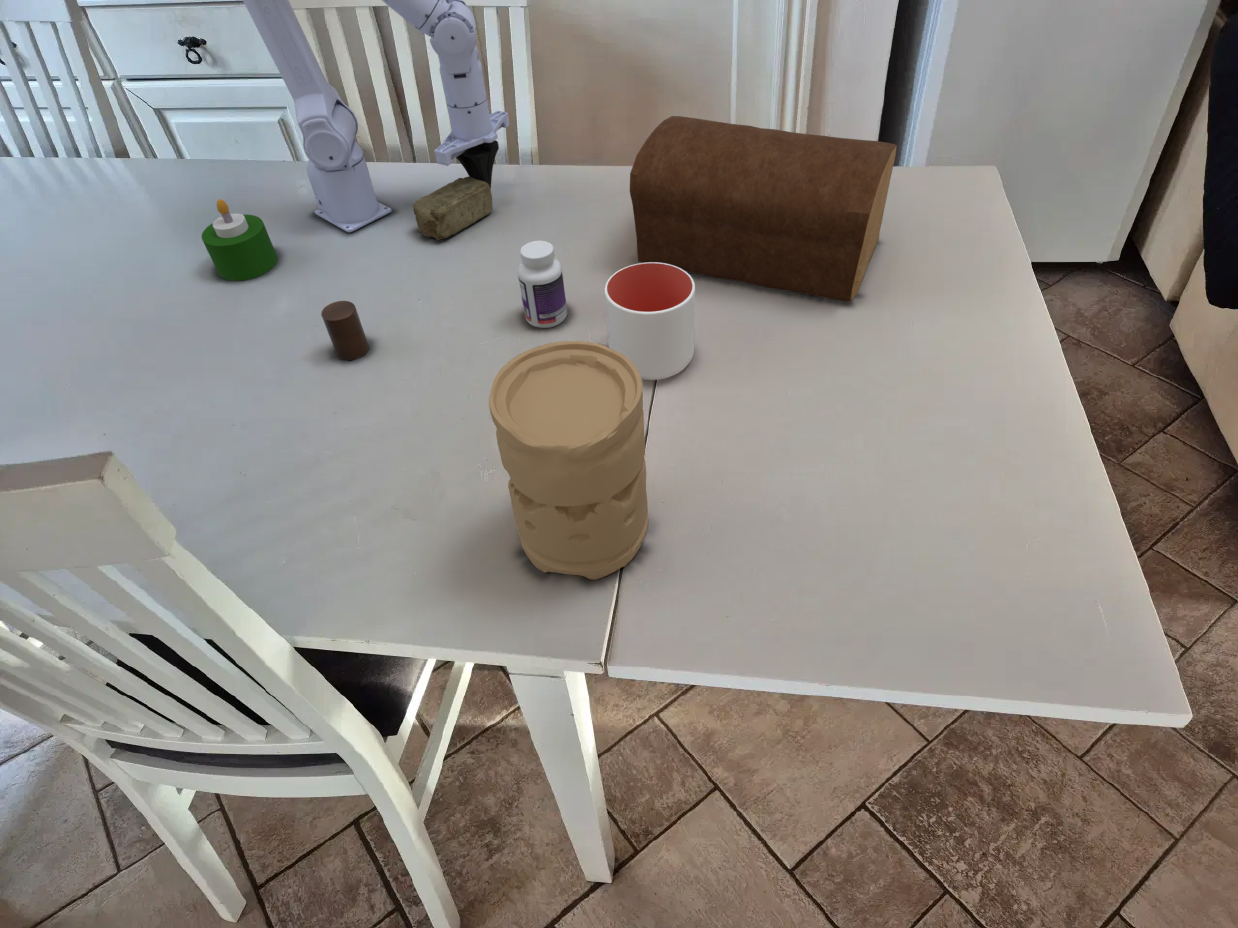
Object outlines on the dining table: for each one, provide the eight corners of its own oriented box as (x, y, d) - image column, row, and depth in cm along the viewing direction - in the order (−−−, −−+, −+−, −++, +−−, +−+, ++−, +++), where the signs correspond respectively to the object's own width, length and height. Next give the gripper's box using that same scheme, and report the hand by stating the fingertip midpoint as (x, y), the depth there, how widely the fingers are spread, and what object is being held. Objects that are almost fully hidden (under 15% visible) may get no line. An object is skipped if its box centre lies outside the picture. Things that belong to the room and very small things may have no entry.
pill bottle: (574, 309, 104) (567, 241, 97) (555, 333, 101) (546, 265, 94) (538, 300, 106) (528, 233, 99) (517, 323, 103) (505, 256, 96)
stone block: (497, 212, 123) (491, 181, 119) (441, 246, 117) (433, 215, 113) (471, 201, 125) (464, 171, 122) (414, 234, 119) (406, 203, 116)
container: (655, 574, 75) (650, 434, 62) (519, 587, 74) (485, 449, 61) (641, 475, 83) (634, 334, 70) (519, 487, 83) (490, 347, 70)
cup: (703, 339, 98) (705, 268, 91) (680, 392, 92) (680, 319, 85) (625, 327, 101) (621, 256, 94) (597, 377, 95) (591, 305, 87)
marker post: (330, 352, 101) (314, 312, 96) (356, 336, 103) (342, 296, 98) (348, 364, 99) (333, 324, 94) (375, 348, 101) (361, 308, 96)
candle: (231, 287, 112) (200, 222, 105) (208, 264, 116) (177, 200, 109) (287, 264, 115) (261, 199, 108) (262, 242, 120) (236, 178, 113)
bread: (677, 204, 121) (677, 95, 110) (880, 237, 112) (903, 122, 100) (630, 268, 110) (624, 154, 98) (851, 311, 101) (874, 190, 89)
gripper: (455, 125, 108) (473, 218, 118) (520, 85, 116) (532, 175, 126) (415, 116, 111) (436, 207, 121) (481, 77, 119) (496, 166, 129)
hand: (483, 190), depth 124 cm, fingers closed
